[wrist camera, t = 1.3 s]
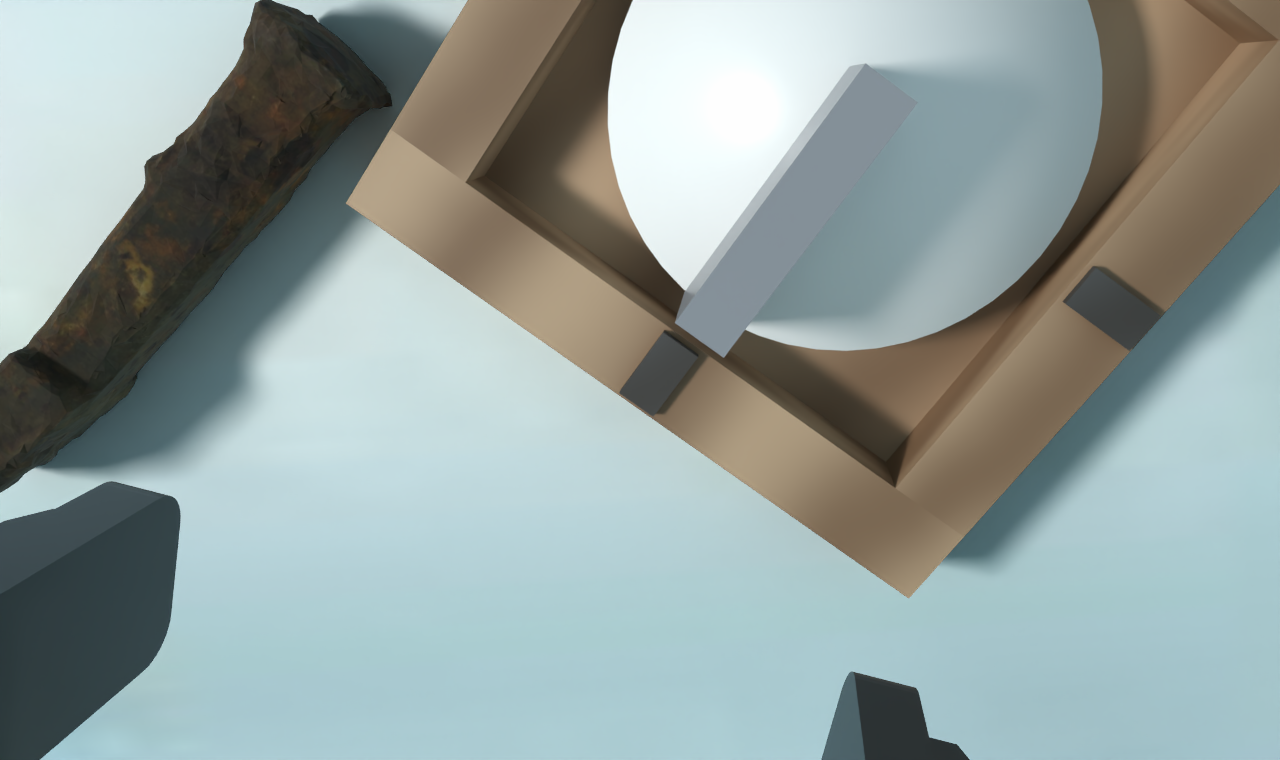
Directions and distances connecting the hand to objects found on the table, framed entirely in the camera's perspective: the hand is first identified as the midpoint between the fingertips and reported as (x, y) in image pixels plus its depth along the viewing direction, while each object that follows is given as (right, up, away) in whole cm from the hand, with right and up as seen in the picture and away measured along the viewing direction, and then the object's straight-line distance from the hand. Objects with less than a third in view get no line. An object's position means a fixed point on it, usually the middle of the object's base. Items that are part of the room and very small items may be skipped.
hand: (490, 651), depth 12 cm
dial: (+8, +11, +18) cm, 23 cm away
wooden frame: (+8, +11, +18) cm, 23 cm away
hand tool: (-13, +6, +22) cm, 26 cm away
